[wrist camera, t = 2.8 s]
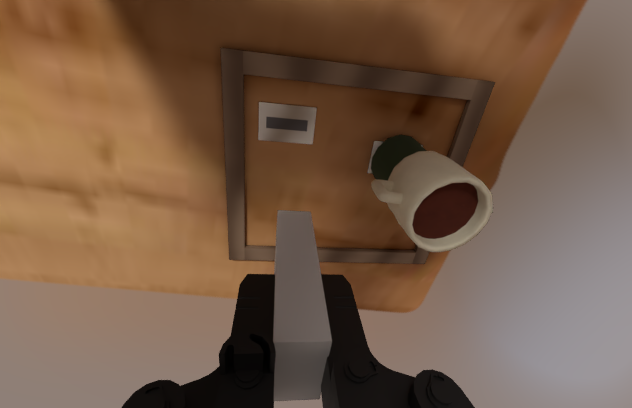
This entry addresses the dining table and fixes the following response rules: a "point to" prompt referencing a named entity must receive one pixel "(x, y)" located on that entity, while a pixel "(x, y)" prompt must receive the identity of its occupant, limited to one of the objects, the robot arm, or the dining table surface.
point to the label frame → (300, 125)
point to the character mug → (430, 194)
